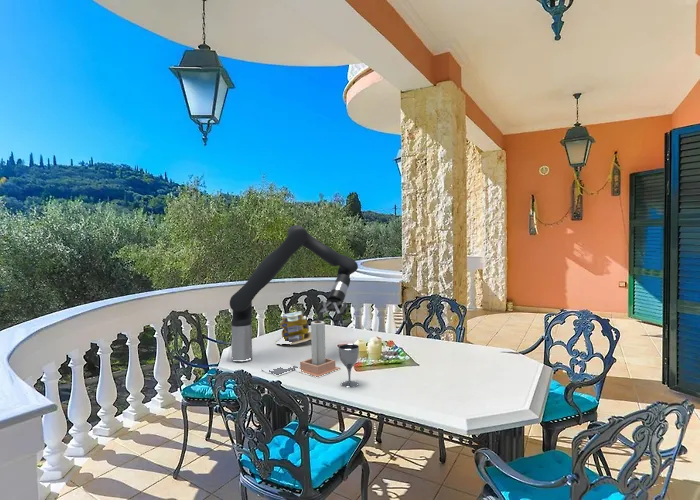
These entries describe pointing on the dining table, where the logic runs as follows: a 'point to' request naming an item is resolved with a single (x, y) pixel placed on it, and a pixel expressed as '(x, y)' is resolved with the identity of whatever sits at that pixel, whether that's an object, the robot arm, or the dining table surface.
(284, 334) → the tray of yellow jars
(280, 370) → the slate mat
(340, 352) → the wine glass
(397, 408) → the dining table surface
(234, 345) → the robot arm
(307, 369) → the terracotta square tray
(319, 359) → the tall grey box
